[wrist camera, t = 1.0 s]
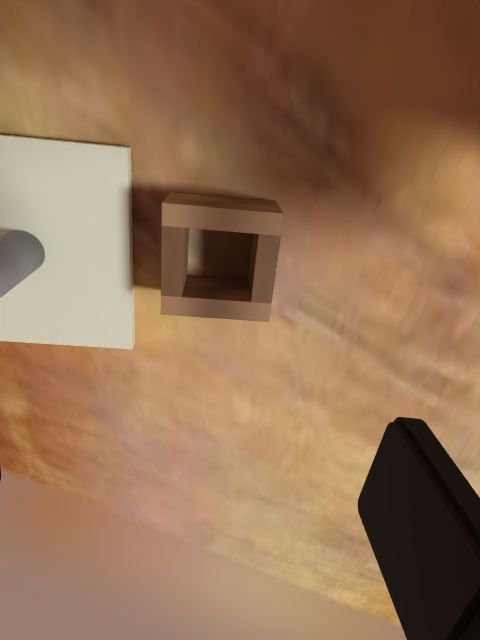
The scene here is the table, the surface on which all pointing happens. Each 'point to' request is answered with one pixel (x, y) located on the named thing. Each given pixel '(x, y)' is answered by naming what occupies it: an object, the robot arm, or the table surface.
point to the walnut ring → (219, 293)
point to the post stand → (66, 243)
